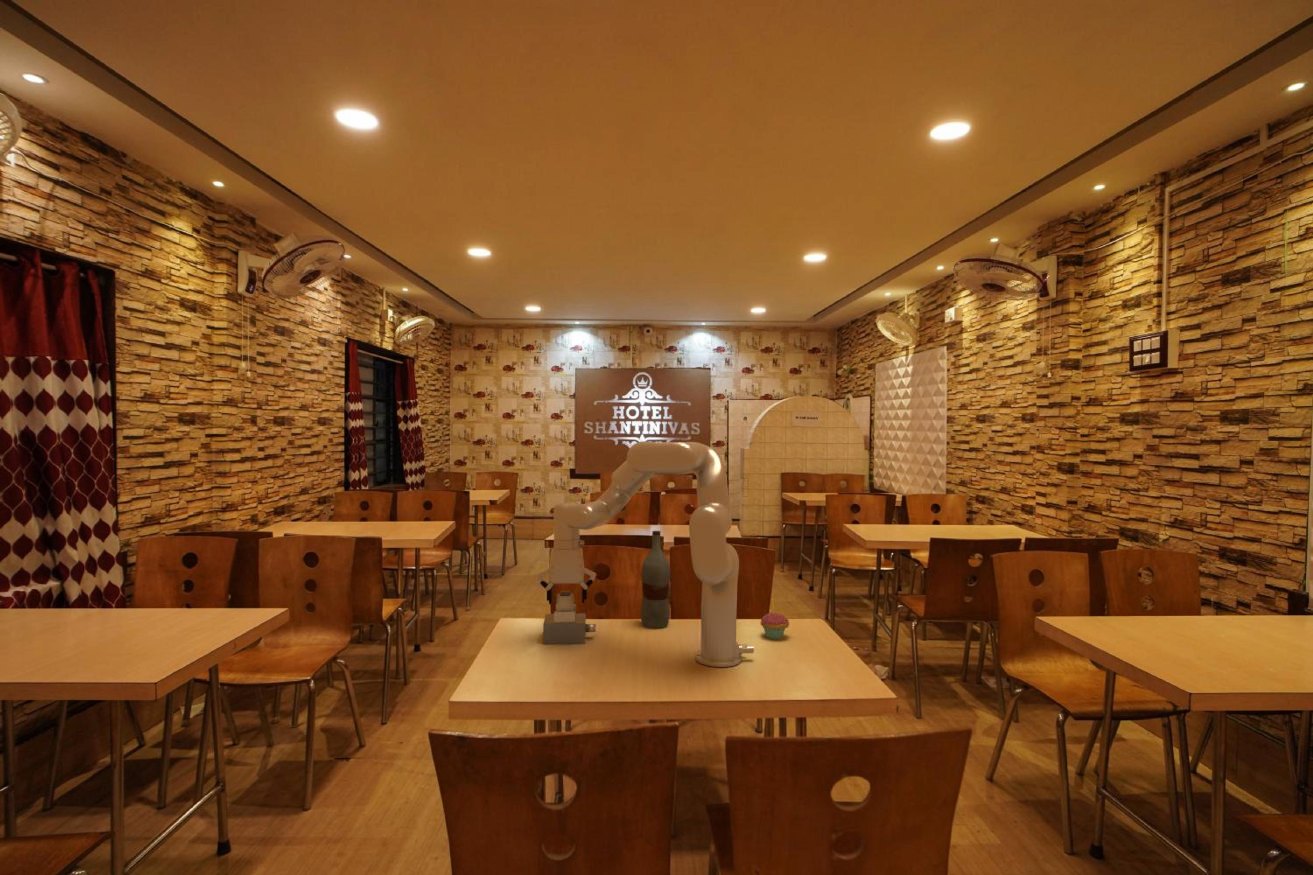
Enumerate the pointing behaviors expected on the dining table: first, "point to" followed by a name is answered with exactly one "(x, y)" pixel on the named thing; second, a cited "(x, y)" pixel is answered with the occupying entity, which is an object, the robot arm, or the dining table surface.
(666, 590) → the bottle
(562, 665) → the dining table surface
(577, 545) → the robot arm
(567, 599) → the toy camera lens
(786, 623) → the cupcake
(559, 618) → the box with side knob
